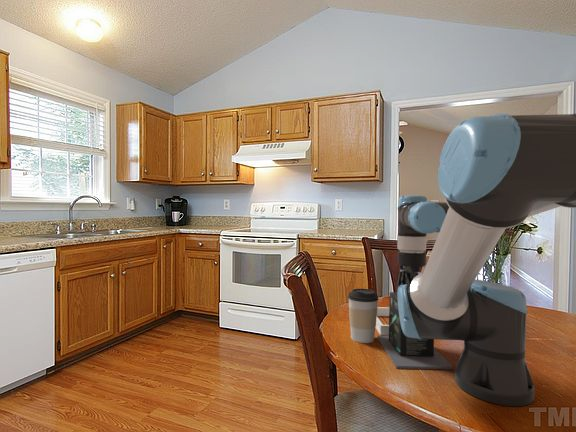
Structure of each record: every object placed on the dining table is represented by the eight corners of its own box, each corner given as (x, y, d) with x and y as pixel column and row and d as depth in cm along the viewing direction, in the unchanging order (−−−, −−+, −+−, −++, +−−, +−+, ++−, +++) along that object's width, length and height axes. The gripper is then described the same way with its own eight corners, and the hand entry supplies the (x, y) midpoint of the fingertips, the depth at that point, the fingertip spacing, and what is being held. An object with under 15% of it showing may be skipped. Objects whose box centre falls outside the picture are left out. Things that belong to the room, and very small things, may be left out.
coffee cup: (354, 331, 109) (355, 285, 109) (382, 337, 104) (382, 289, 104) (342, 339, 102) (343, 290, 102) (371, 347, 97) (371, 295, 96)
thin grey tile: (453, 369, 84) (453, 367, 84) (396, 368, 84) (396, 365, 84) (423, 338, 104) (423, 336, 104) (377, 337, 104) (377, 335, 104)
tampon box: (434, 357, 89) (435, 302, 89) (399, 356, 89) (400, 301, 89) (419, 340, 100) (420, 291, 100) (388, 340, 100) (388, 291, 100)
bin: (435, 336, 105) (435, 326, 105) (380, 335, 106) (380, 325, 106) (413, 315, 125) (413, 307, 125) (367, 315, 126) (367, 307, 126)
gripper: (444, 257, 82) (443, 344, 82) (410, 246, 106) (409, 313, 107) (413, 257, 82) (412, 344, 82) (386, 246, 107) (385, 312, 107)
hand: (410, 327), depth 94 cm, fingers open, 13 cm apart
